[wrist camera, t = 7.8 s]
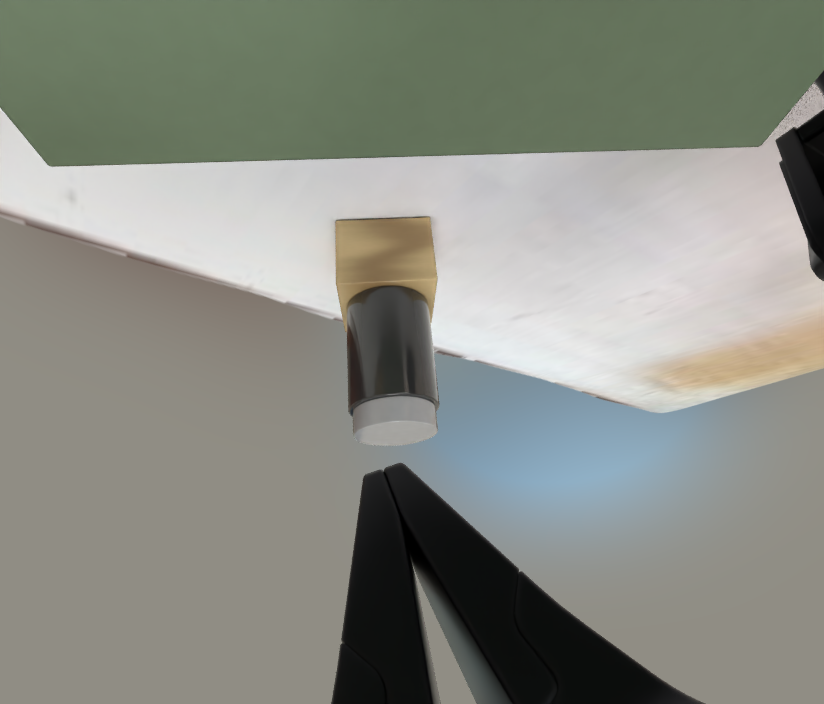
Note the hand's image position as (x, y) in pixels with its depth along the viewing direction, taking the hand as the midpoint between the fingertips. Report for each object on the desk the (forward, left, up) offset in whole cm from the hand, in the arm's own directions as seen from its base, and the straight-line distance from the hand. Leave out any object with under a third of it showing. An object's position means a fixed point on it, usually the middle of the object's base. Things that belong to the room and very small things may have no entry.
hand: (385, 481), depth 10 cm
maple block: (-1, +12, -15) cm, 19 cm away
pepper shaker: (-1, +12, -11) cm, 16 cm away
